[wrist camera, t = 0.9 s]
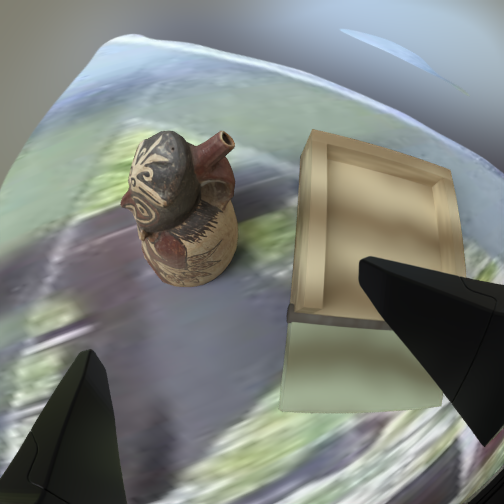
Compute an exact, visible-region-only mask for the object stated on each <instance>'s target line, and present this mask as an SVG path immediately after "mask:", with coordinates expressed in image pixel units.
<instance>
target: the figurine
mask: <svg viewBox="0 0 504 504" xmlns="http://www.w3.org/2000/svg"><path fill="white" fill-rule="evenodd" d="M234 147H235V143H234V141H233V139H232V138H231V137H230V136H229V135H228V134H227V133H226V132H224V131H220V132H218V133H217V134H215V135H214V136H213V137H211V138H210V139H208V140H207V141H206V142H204V143H202V144H200V145H198V146H194V145H192V144H190V143H188V142H186V141H185V139H184V138H183V137H182V136H180V135H179V134H177V133H176V132H174V131H161V132H159V133H157V134H155V135H153V136H152V137H150V138H148V139H145V140H143V141H142V142H141V143H140V144H139V146H138V148H137V150H136V153H135V156H134V159H133V162H132V166H131V170H130V174H129V180H128V183H129V190H128V191H127V192H126V194H125V195H124V196H123V198H122V200H121V206H122V207H123V208H127V209H129V210H130V211H131V212H132V213H133V215H134V217H135V220H136V222H137V228H138V235H139V238H140V240H142V251H143V253H144V258H145V259H146V260H147V261H148V263H149V265H150V266H151V267H152V269H153V270H154V271H155V273H156V274H157V276H158V277H159V278H160V279H161V280H162V282H164V283H167V284H170V285H173V286H178V287H194V286H199V285H203V284H206V283H207V282H209V281H211V280H213V279H215V278H216V277H217V276H218V275H220V274H221V273H222V272H223V271H224V270H225V268H226V267H227V266H228V265H229V263H230V262H231V260H232V258H233V255H234V253H235V251H236V248H237V241H238V224H237V219H236V216H235V212H234V208H233V205H232V203H231V198H232V197H233V196H234V187H235V179H234V174H233V171H232V168H231V166H230V164H229V161H228V159H227V158H226V157H225V156H226V155H227V154H228V153H229V152H230V151H232V150H233V149H234Z"/></svg>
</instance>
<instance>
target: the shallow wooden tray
mask: <svg viewBox="0 0 504 504" xmlns="http://www.w3.org/2000/svg"><path fill="white" fill-rule="evenodd" d="M368 256H373V257H378V258H382V259H387V260H391V261H396V262H400V263H405V264H409V265H414V266H418V267H422V268H427V269H431V270H435V271H440V272H444V273H448V274H453V275H457V276H459V277H460V276H461V277H465V278H466V268H465V257H464V248H463V239H462V232H461V224H460V218H459V212H458V206H457V200H456V195H455V190H454V185H453V180H452V175H451V171H450V170H449V169H446V168H444V167H441V166H438V165H435V164H433V163H430V162H427V161H424V160H421V159H418V158H415V157H412V156H409V155H406V154H403V153H400V152H397V151H393V150H390V149H387V148H383V147H380V146H377V145H373V144H370V143H366V142H362V141H359V140H355V139H351V138H347V137H343V136H339V135H335V134H331V133H327V132H323V131H318V130H314V129H312V131H311V134H310V136H309V138H308V140H307V143H306V145H305V147H304V150H303V152H302V154H301V157H300V175H299V192H298V209H297V224H296V238H295V251H294V263H293V276H292V287H291V298H290V304H289V306H288V310H287V323H288V329H287V339H286V348H285V357H284V366H283V375H282V383H281V391H280V399H279V407H278V409H279V410H280V411H282V412H298V413H368V412H387V411H401V410H412V409H422V408H431V407H439V406H441V405H442V396H443V392H442V391H441V389H440V388H439V387H438V385H437V384H436V383H435V382H434V380H433V379H432V378H431V377H430V375H429V374H428V373H427V372H426V370H425V369H424V368H423V367H422V365H421V364H420V363H419V362H418V360H417V359H416V358H415V357H414V355H413V354H412V353H411V352H410V351H409V349H408V348H407V347H406V346H405V345H404V343H403V342H402V341H401V340H400V339H399V337H398V336H397V335H396V334H395V333H394V331H393V330H392V329H391V328H390V327H389V325H388V324H387V323H386V322H385V321H384V319H383V318H382V317H381V315H380V314H379V313H378V311H377V310H376V308H375V307H374V305H373V304H372V302H371V301H370V299H369V298H368V297H367V295H366V294H365V292H364V291H363V289H362V288H361V286H360V284H359V281H358V274H359V261H360V260H361V259H363V258H365V257H368Z"/></svg>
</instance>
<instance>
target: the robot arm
mask: <svg viewBox="0 0 504 504" xmlns="http://www.w3.org/2000/svg"><path fill="white" fill-rule="evenodd" d="M358 281H359V284H360V286H361V288H362V289H363V291H364V292H365V294H366V295H367V297H368V298H369V299H370V301H371V302H372V304H373V305H374V307H375V308H376V310H377V311H378V313H379V314H380V315H381V317H382V318H383V319H384V321H385V322H386V323H387V324H388V325H389V327H390V328H391V329H392V330H393V331H394V333H395V334H396V335H397V336H398V337H399V339H400V340H401V341H402V342H403V343H404V345H405V346H406V347H407V348H408V349H409V351H410V352H411V353H412V354H413V355H414V357H415V358H416V359H417V360H418V362H419V363H420V364H421V365H422V367H423V368H424V369H425V370H426V372H427V373H428V374H429V375H430V377H431V378H432V379H433V380H434V382H435V383H436V384H437V385H438V387H439V388H440V389H441V391H442V392H443V393H444V394H445V396H446V397H447V398H448V400H449V401H450V402H451V403H452V405H453V406H454V408H455V409H456V410H457V412H458V413H459V414H460V416H461V417H462V418H463V420H464V421H465V422H466V424H467V425H468V426H469V428H470V429H471V430H472V432H473V433H474V434H475V436H476V437H477V439H478V440H479V441H480V443H481V444H482V445H483V446H484V447H485V446H486V445H487V444H488V443H489V442H490V441H491V440H492V439H493V438H494V437H495V436H496V435H497V434H498V433H499V432H500V431H501V430H502V429H503V428H504V285H501V284H495V283H489V282H484V281H479V280H474V279H470V278H465V277H461V276H460V277H459V276H457V275H453V274H448V273H444V272H440V271H435V270H431V269H427V268H422V267H418V266H414V265H409V264H405V263H400V262H396V261H391V260H387V259H382V258H378V257H373V256H368V257H365V258H363V259H361V260H360V261H359V274H358ZM31 431H32V432H31ZM31 431H30V432H29V434H28V436H27V437H26V439H25V441H24V442H23V444H22V446H21V447H20V449H19V451H18V452H17V454H16V456H15V457H14V459H13V460H12V462H11V463H10V465H9V466H8V468H7V469H6V471H5V472H4V474H3V475H2V477H1V478H0V504H127V500H126V495H125V489H124V484H123V478H122V472H121V466H120V459H119V452H118V444H117V436H116V426H115V417H114V411H113V406H112V401H111V395H110V390H109V384H108V379H107V373H106V370H105V367H104V366H103V364H102V363H101V361H100V360H99V358H98V357H97V355H96V353H95V352H94V351H93V350H91V349H89V350H85V351H82V352H80V353H79V355H78V356H77V357H76V359H75V360H74V362H73V363H72V365H71V366H70V368H69V369H68V371H67V372H66V374H65V376H64V377H63V379H62V380H61V382H60V383H59V385H58V386H57V388H56V389H55V391H54V393H53V394H52V396H51V397H50V399H49V401H48V402H47V404H46V405H45V407H44V409H43V410H42V412H41V414H40V415H39V417H38V419H37V420H36V422H35V424H34V425H33V427H32V429H31ZM463 504H504V465H503V466H502V467H501V468H500V469H499V470H498V471H497V472H496V473H495V474H494V475H493V476H492V477H491V478H490V479H489V480H488V481H487V482H486V483H485V484H484V485H483V486H482V487H481V488H480V489H479V490H478V491H477V492H475V493H474V494H473V495H472V496H471V497H470V498H469V499H468V500H466V501H465V502H464V503H463Z"/></svg>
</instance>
